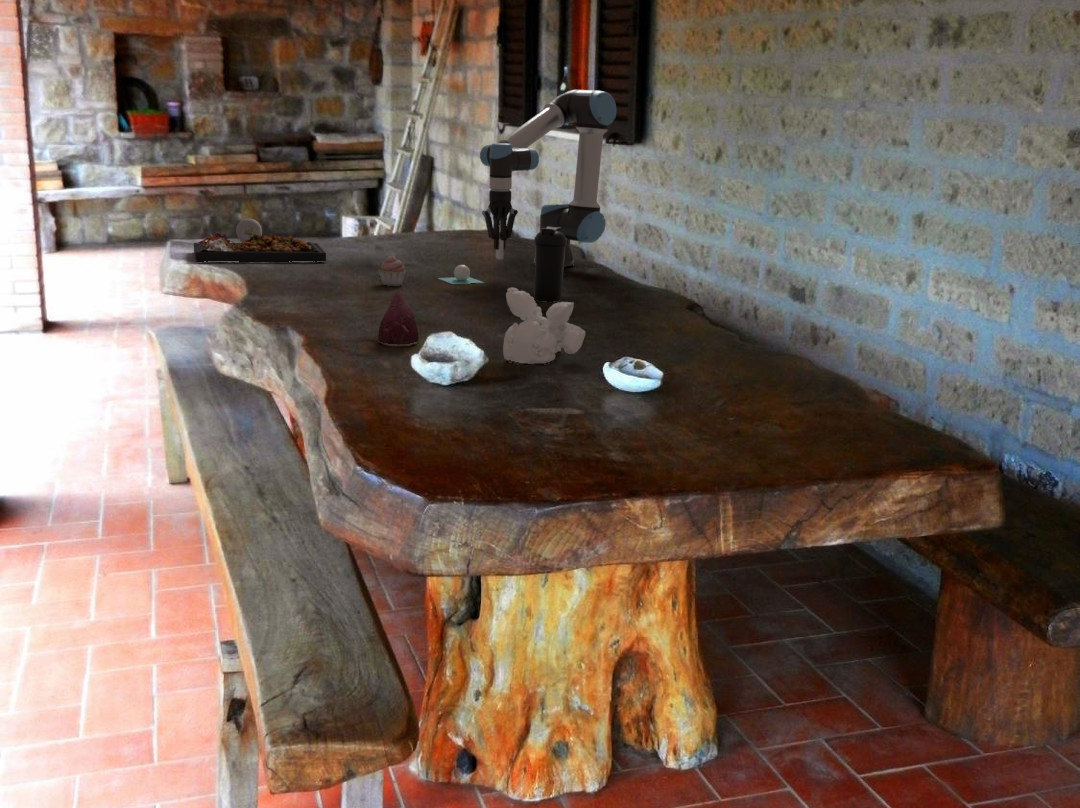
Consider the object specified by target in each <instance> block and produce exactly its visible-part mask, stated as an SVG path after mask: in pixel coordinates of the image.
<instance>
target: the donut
mask: <svg viewBox="0 0 1080 808" xmlns="http://www.w3.org/2000/svg"><path fill="white" fill-rule="evenodd" d="M247 228H252V230H253V231H252V232H253V233H252V234H250V235H249V234H247V233H246V229H247ZM235 234H236V236H237V238H238V240H240V242H242V241H245V240H250V236H253V235H254V234H259V235H261V237H262V236H263V228H262V225H261V224H260V223H259V221H257V220H256V219H254V218H244V219H241V220H240V221H239V222H238V223H237V226H236V229H235Z"/></svg>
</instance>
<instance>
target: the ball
mask: <svg viewBox="0 0 1080 808" xmlns="http://www.w3.org/2000/svg"><path fill="white" fill-rule="evenodd" d="M470 275H471V270H470V268H469V267H468V266H467V265H465V264H459V265H457V266H456V267H455V268H454V270H453V276H454V277H455V278H456V279H457V280H459V281H465V280H467V279H468V278H469V277H470Z"/></svg>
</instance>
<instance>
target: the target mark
mask: <svg viewBox="0 0 1080 808" xmlns="http://www.w3.org/2000/svg"><path fill="white" fill-rule="evenodd" d="M436 279H437V280H439V281H442V282H445V283H447V284H450V285H453V286H454V285H470V284H471V283H476V284H485V282H484V281H481V280H479V279H476V278H473V277H470V276H469V278H468V279H467V280H465V281H459V280H457V279H456V278H455V276H454V277H452V276H451V277H437V278H436Z"/></svg>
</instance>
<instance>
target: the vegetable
mask: <svg viewBox="0 0 1080 808" xmlns="http://www.w3.org/2000/svg"><path fill="white" fill-rule="evenodd" d="M419 338H420V337H419V329H418V325H417V321H416V319H415V314H414V312H413V310H412V308H411V307H410V304H409V303H408V302H407V300H406V298H405V297H404V295H403V293H402V292H401V291H400V289H397V290H396V291H395V292H394V293H393V295H392V298H391V301H390V304H389V307H388V308H387V309H386V311H385V313H384V315H383V317H382V318H381V320H380V324H379V328H378V337H377V341H378V340H379V341H380V342H383V343H388V344H398V345H399V344H410V343H414V342H417V341H418V342H419Z"/></svg>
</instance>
